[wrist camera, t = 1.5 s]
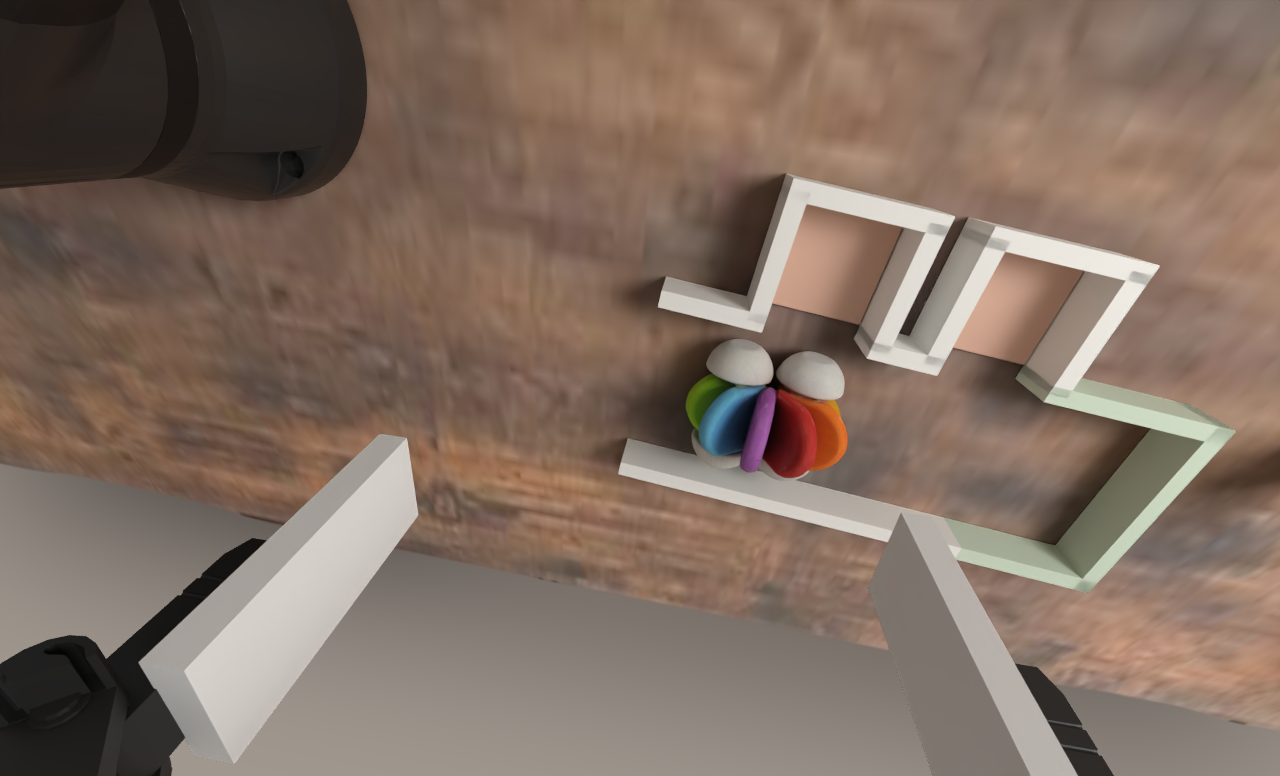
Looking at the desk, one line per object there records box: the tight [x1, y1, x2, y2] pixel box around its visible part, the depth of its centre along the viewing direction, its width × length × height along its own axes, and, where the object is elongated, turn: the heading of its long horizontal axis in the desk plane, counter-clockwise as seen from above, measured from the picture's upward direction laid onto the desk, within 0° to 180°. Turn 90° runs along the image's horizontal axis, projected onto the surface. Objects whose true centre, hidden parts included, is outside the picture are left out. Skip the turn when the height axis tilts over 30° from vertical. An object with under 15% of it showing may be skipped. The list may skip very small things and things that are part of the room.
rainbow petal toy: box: [686, 339, 847, 481], centre depth 30 cm, size 8×10×7 cm
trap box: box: [618, 173, 1236, 593], centre depth 30 cm, size 32×20×3 cm, turn 78°
